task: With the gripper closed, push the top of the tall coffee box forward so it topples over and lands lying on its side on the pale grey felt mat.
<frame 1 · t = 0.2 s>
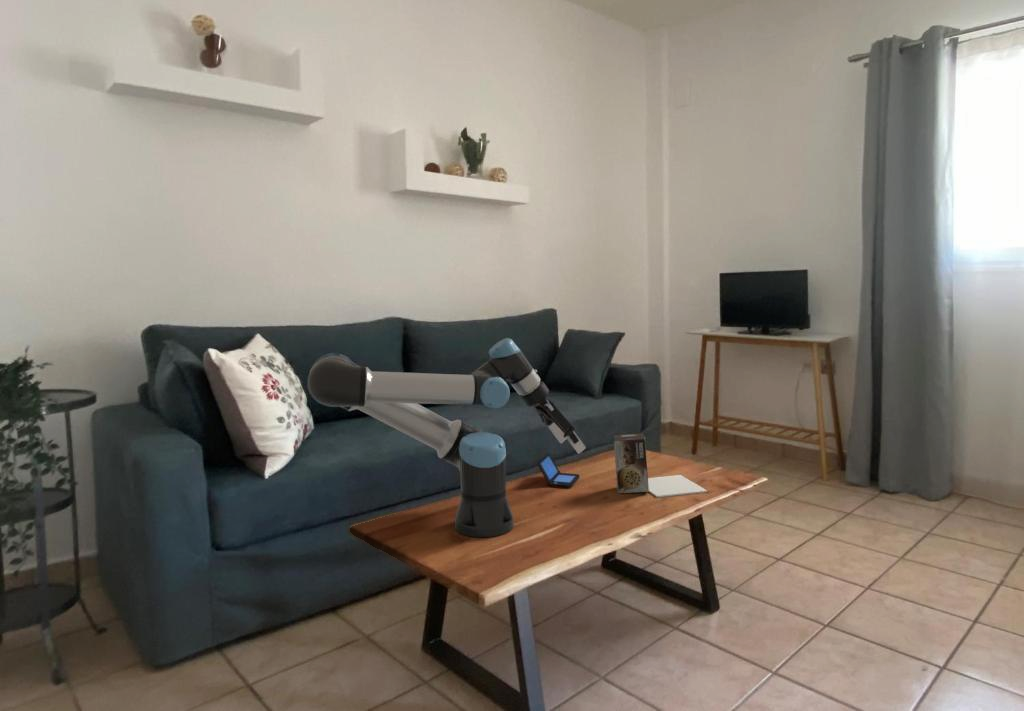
hand: (572, 445, 190), 16 cm above the table, tool tilted 35°, fingers open, 13 cm apart
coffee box: (632, 490, 198), on the table, touching felt mat
felt mat: (669, 486, 201), on the table
handheld game console: (558, 482, 209), on the table
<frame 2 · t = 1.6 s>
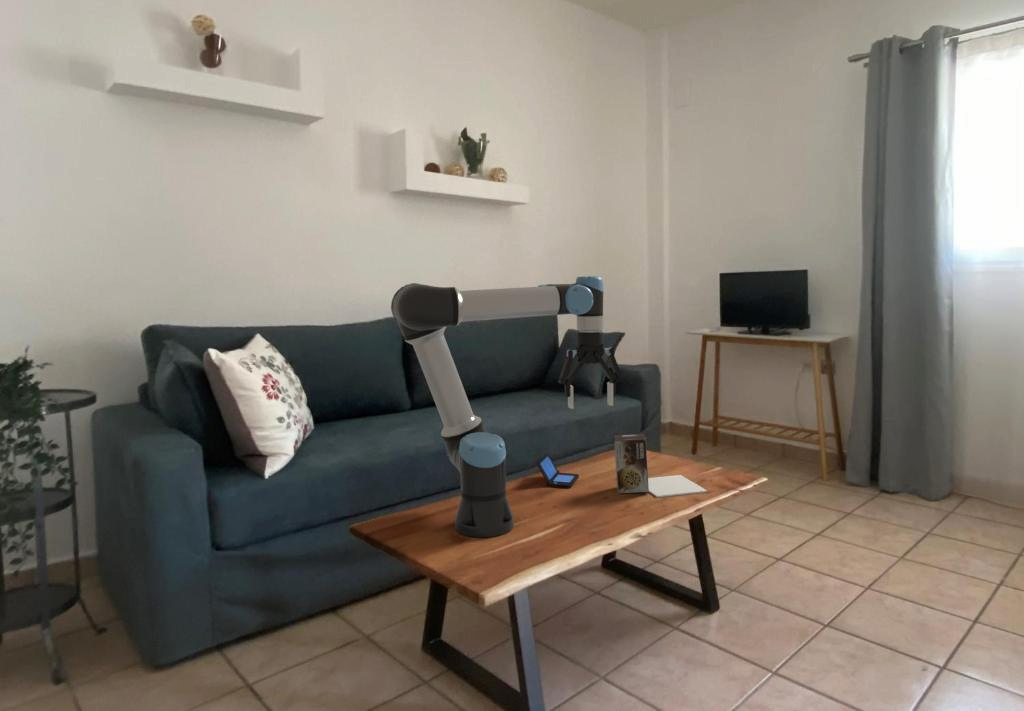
hand: (590, 406, 192), 26 cm above the table, tool pointing down, fingers open, 11 cm apart
nothing on the table moved.
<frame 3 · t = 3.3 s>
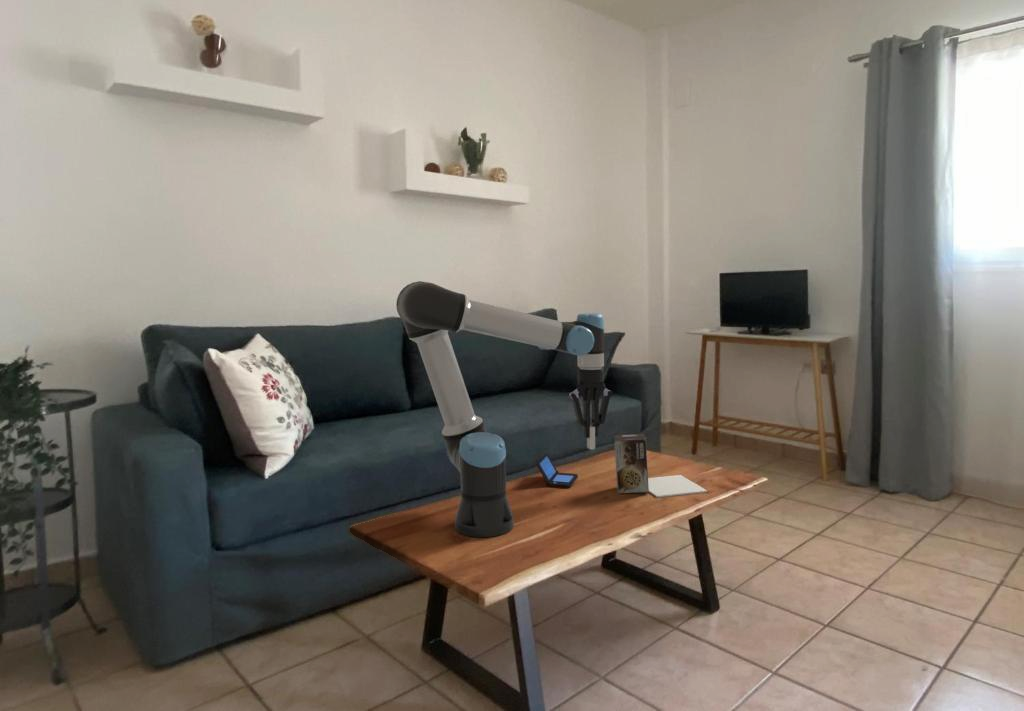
hand: (591, 448, 194), 14 cm above the table, tool pointing down, fingers closed
nothing on the table moved.
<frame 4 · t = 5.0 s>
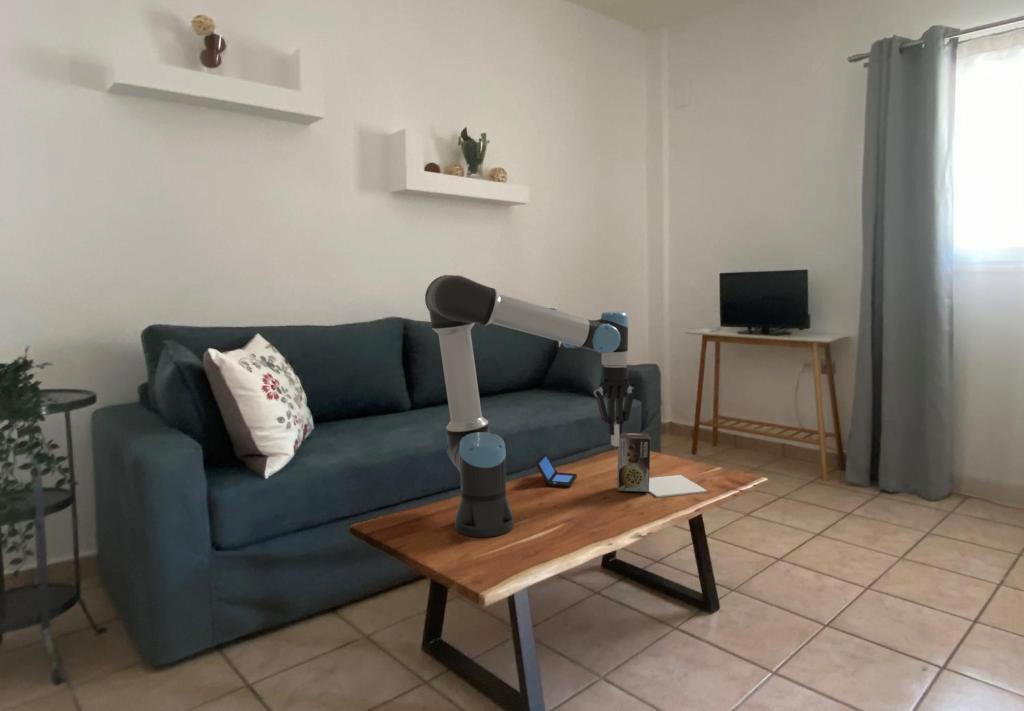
hand: (615, 445, 195), 14 cm above the table, tool pointing down, fingers closed
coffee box: (632, 488, 198), on the table, touching felt mat
everything else where it was.
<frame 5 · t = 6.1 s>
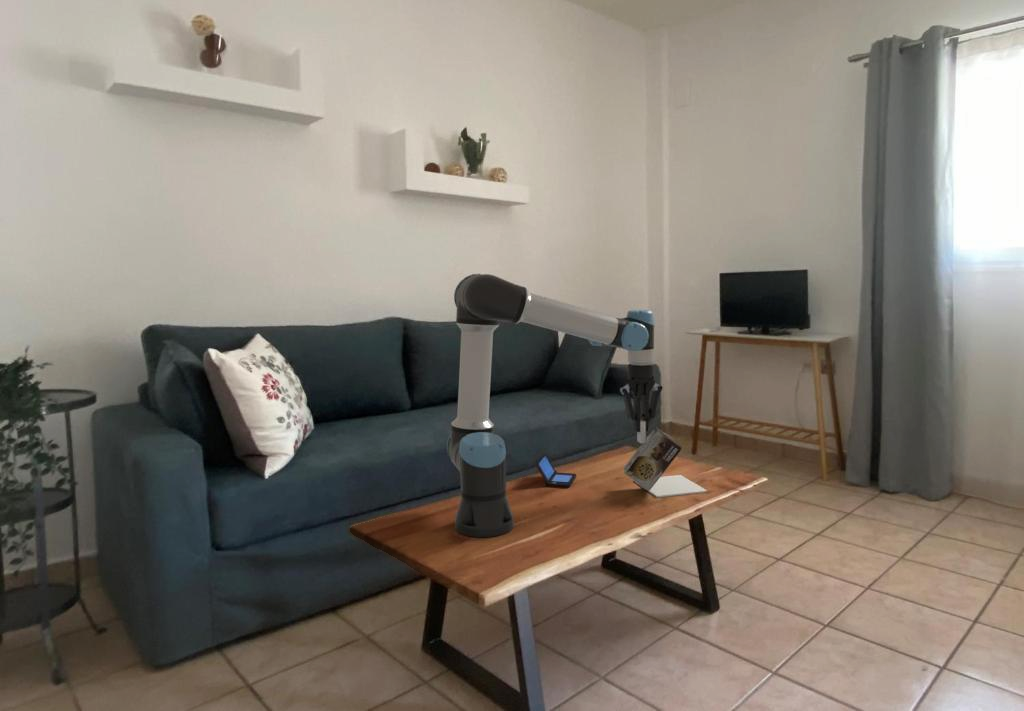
hand: (641, 442, 197), 14 cm above the table, tool pointing down, fingers closed
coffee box: (635, 480, 198), point 3 cm above the table, touching felt mat, gripper
everything else where it was.
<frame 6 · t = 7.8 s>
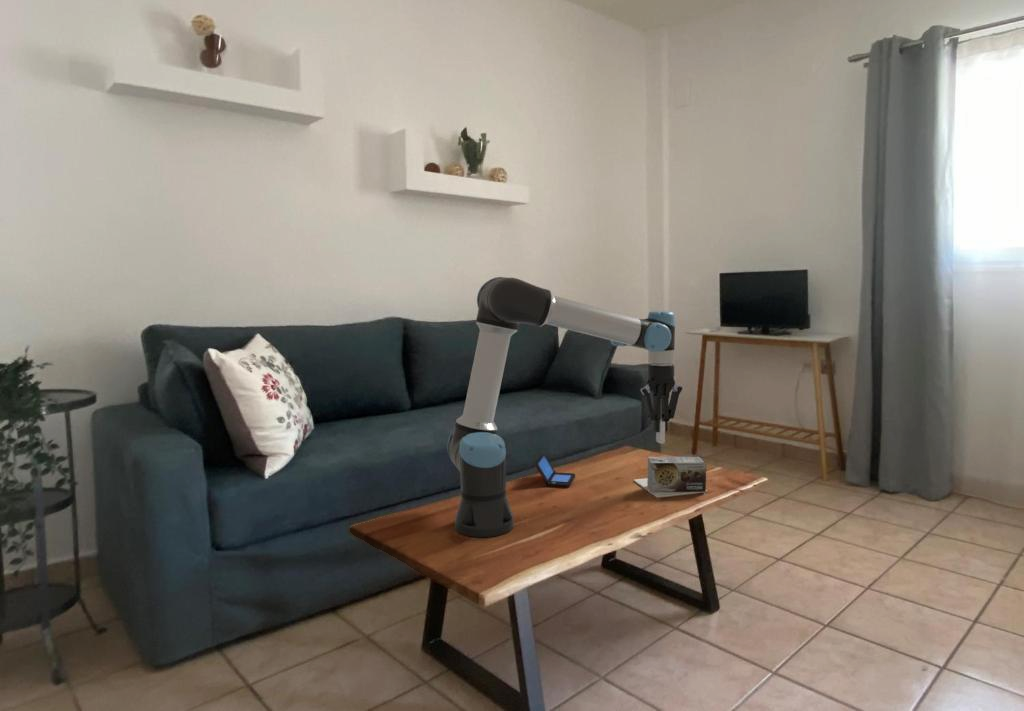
hand: (660, 442, 199), 14 cm above the table, tool pointing down, fingers closed
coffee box: (648, 474, 197), point 5 cm above the table, touching felt mat
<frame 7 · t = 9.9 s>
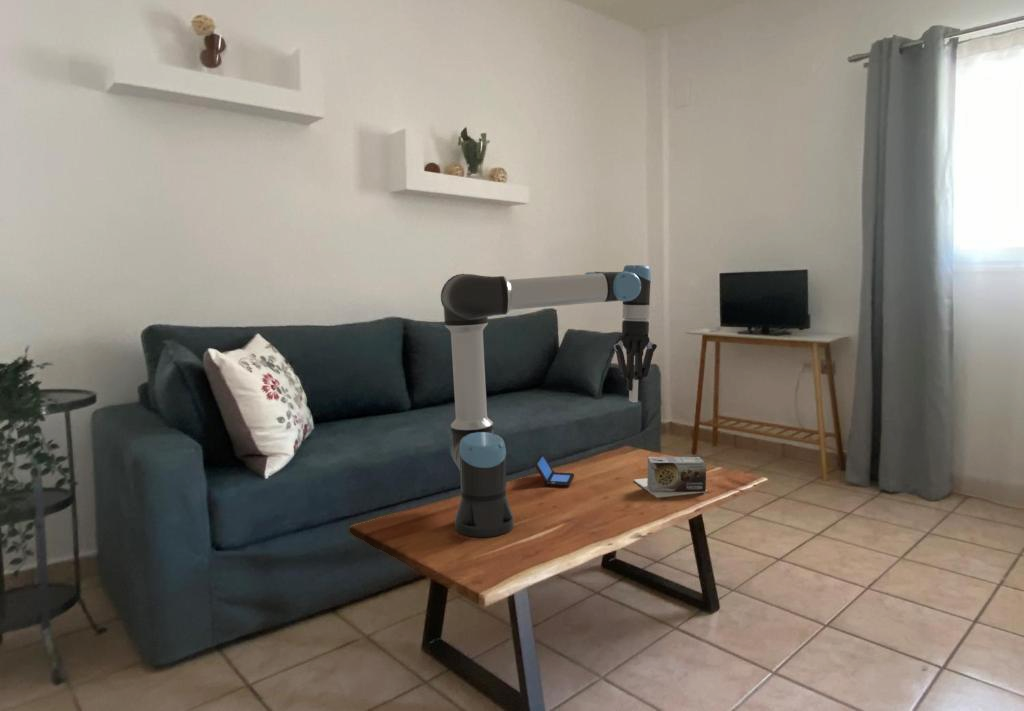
hand: (633, 401, 193), 27 cm above the table, tool pointing down, fingers closed
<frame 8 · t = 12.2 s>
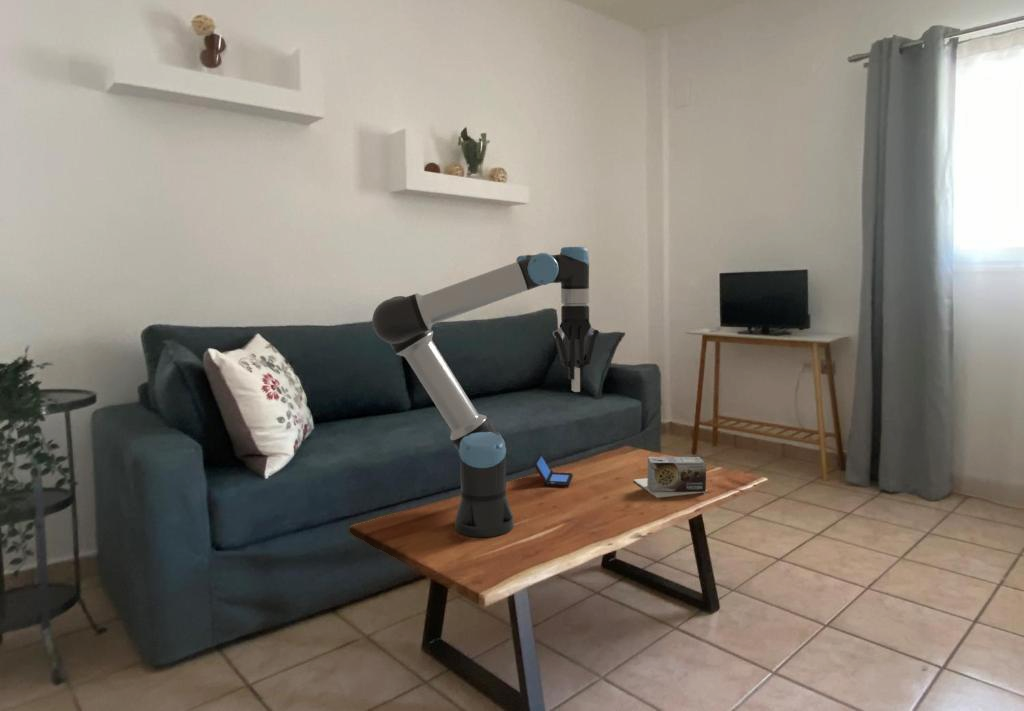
hand: (575, 390, 183), 32 cm above the table, tool pointing down, fingers closed
at the end: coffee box tilted 91°; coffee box touching felt mat; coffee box inside the target area (1.7 cm from its centre), point 5.1 cm above the table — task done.
